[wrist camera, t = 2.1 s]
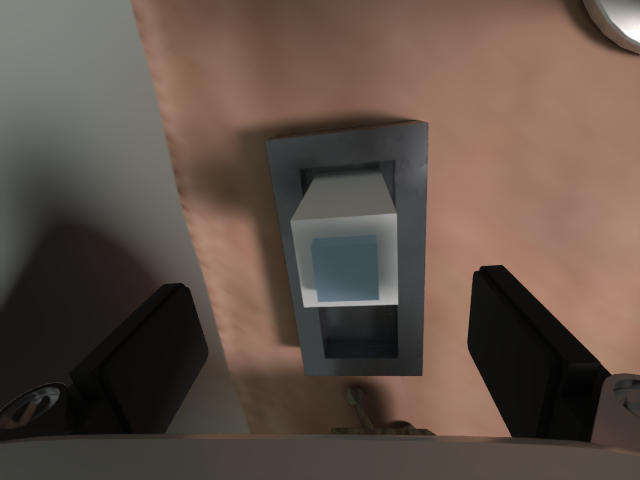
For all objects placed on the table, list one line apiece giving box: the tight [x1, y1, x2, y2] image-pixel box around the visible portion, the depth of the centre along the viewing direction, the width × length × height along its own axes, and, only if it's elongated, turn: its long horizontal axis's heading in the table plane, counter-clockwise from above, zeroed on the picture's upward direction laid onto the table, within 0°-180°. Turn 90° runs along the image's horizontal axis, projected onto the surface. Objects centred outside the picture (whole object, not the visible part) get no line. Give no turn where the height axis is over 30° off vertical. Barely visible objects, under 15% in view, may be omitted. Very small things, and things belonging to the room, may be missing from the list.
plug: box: [290, 168, 398, 307], centre depth 16 cm, size 4×4×10 cm
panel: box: [265, 120, 428, 376], centre depth 22 cm, size 18×9×3 cm, turn 6°
